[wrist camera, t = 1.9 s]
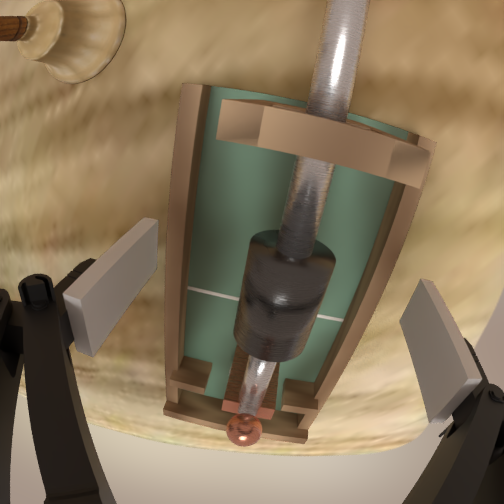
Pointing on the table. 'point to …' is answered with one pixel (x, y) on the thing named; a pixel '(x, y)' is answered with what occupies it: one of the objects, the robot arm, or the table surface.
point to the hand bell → (68, 36)
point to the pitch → (269, 218)
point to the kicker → (292, 244)
